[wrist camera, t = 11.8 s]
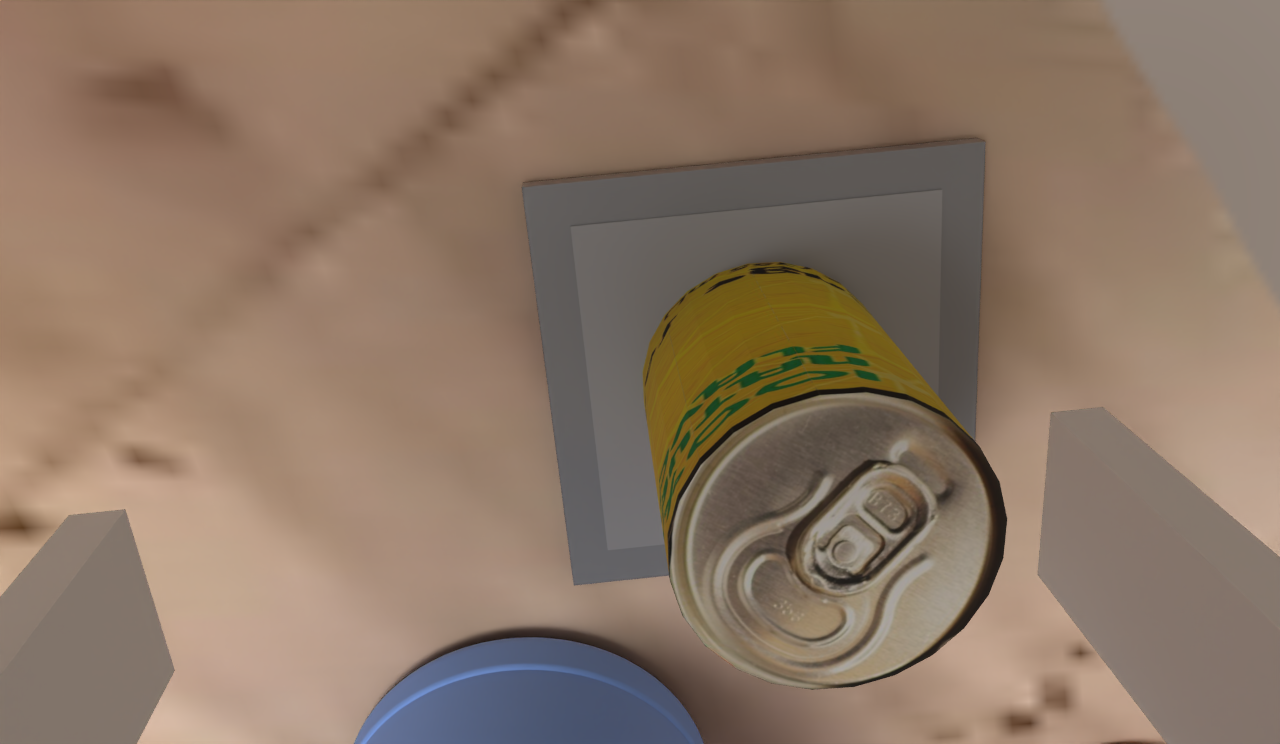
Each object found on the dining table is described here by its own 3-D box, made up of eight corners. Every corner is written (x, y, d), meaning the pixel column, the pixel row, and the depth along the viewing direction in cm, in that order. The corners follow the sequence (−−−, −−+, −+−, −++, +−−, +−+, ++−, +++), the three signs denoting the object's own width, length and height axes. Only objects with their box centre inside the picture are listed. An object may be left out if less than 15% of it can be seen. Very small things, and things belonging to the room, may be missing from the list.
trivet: (574, 574, 42) (574, 586, 42) (522, 182, 36) (521, 187, 36) (964, 533, 43) (972, 544, 42) (977, 138, 37) (986, 142, 36)
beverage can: (594, 410, 39) (600, 592, 28) (740, 212, 36) (811, 325, 25) (784, 526, 41) (860, 739, 30) (933, 348, 39) (1077, 506, 27)
